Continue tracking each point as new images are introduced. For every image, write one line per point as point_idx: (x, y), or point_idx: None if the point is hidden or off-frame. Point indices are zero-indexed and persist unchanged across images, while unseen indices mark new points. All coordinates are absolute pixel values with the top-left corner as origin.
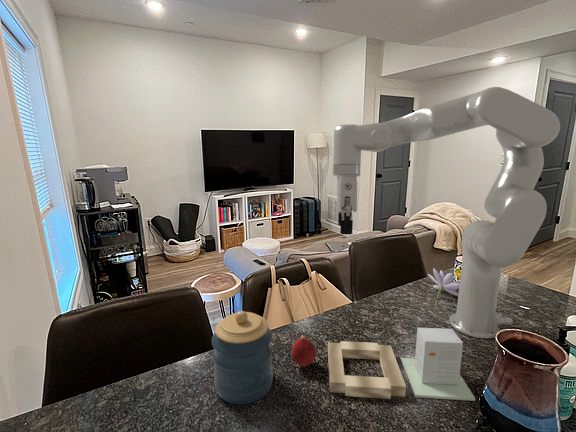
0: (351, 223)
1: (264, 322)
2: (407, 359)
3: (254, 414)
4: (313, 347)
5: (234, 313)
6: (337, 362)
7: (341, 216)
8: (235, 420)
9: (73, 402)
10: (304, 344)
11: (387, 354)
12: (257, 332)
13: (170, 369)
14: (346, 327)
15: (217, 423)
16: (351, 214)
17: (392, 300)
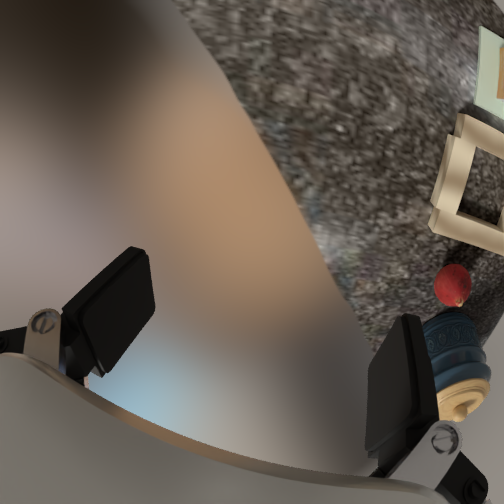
0: (426, 392)
1: (470, 385)
2: (479, 96)
3: (484, 327)
4: (465, 278)
5: None
6: (481, 233)
7: (115, 345)
8: (481, 341)
9: None
10: (466, 297)
11: (486, 137)
12: (485, 389)
13: None
14: (359, 160)
15: None
16: (485, 485)
17: (231, 13)
